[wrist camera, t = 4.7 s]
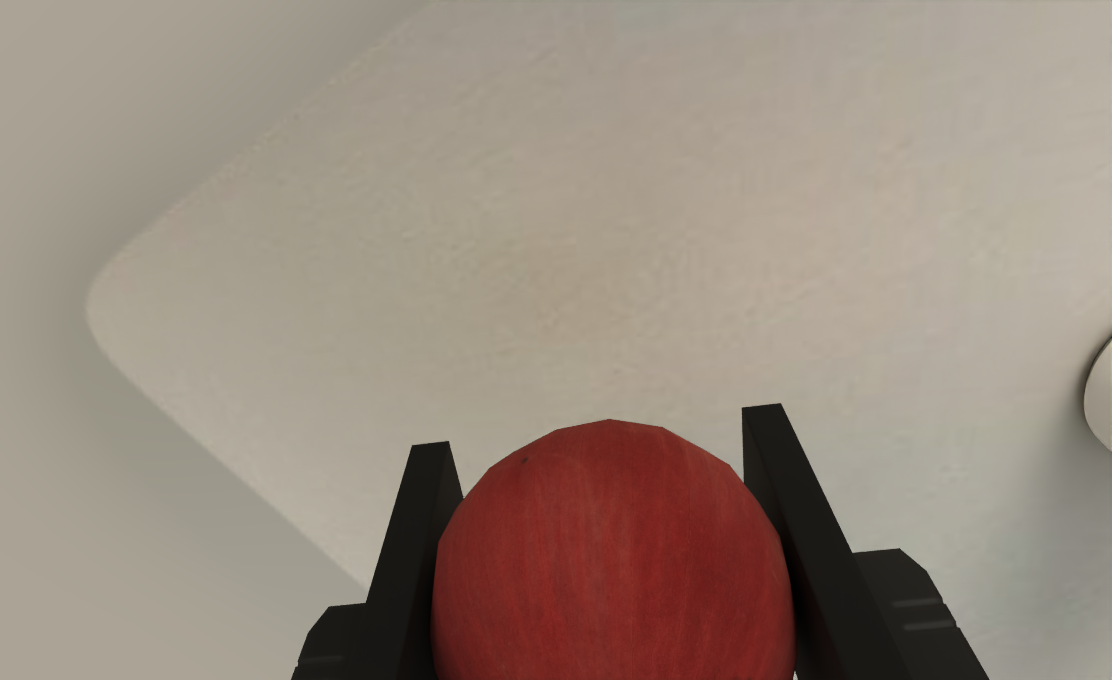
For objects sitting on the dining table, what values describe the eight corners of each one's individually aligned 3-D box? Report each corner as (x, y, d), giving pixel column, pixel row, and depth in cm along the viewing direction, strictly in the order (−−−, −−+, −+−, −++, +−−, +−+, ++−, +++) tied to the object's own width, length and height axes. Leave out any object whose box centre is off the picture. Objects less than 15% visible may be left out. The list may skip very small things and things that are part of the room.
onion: (753, 540, 16) (899, 992, 9) (502, 582, 17) (462, 1035, 10) (720, 310, 14) (889, 705, 7) (422, 371, 14) (292, 790, 7)
